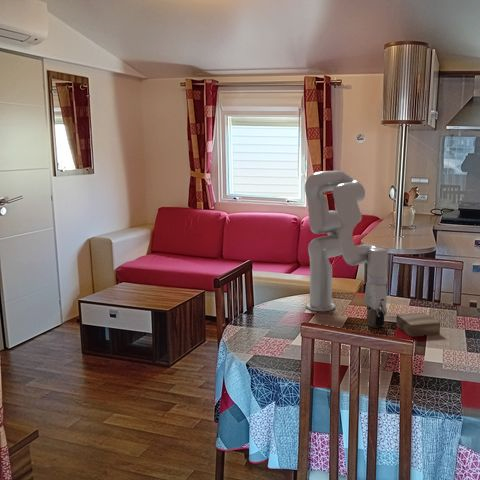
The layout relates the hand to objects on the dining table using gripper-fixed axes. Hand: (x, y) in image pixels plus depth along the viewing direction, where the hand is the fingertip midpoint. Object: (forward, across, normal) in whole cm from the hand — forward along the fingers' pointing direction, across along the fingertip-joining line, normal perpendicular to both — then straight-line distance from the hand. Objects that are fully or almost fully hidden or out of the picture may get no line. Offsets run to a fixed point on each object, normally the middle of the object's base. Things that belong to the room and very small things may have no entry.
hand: (375, 322), depth 216 cm
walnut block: (+2, +8, +14) cm, 16 cm away
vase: (+2, 0, 0) cm, 2 cm away
